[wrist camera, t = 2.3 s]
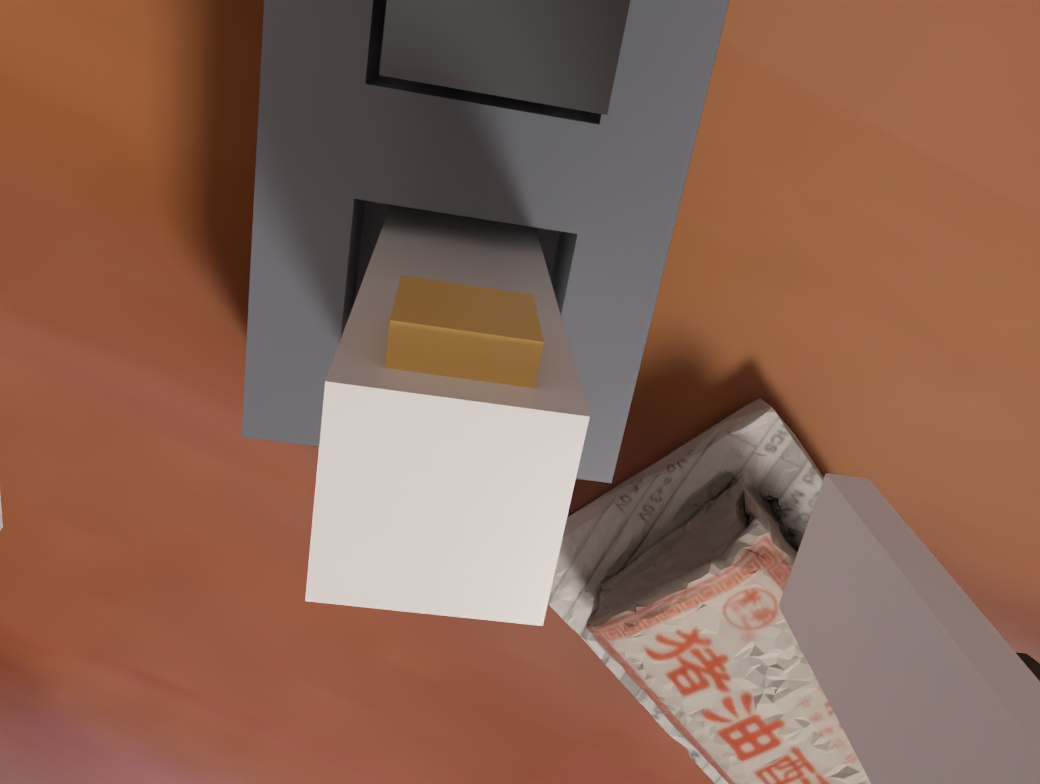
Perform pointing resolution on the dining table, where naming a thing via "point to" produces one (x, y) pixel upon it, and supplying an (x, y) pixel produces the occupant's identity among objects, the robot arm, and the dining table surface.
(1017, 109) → the dining table surface
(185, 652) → the dining table surface
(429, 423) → the plug
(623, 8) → the dark grey block
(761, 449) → the packaged product
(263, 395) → the socket strip
